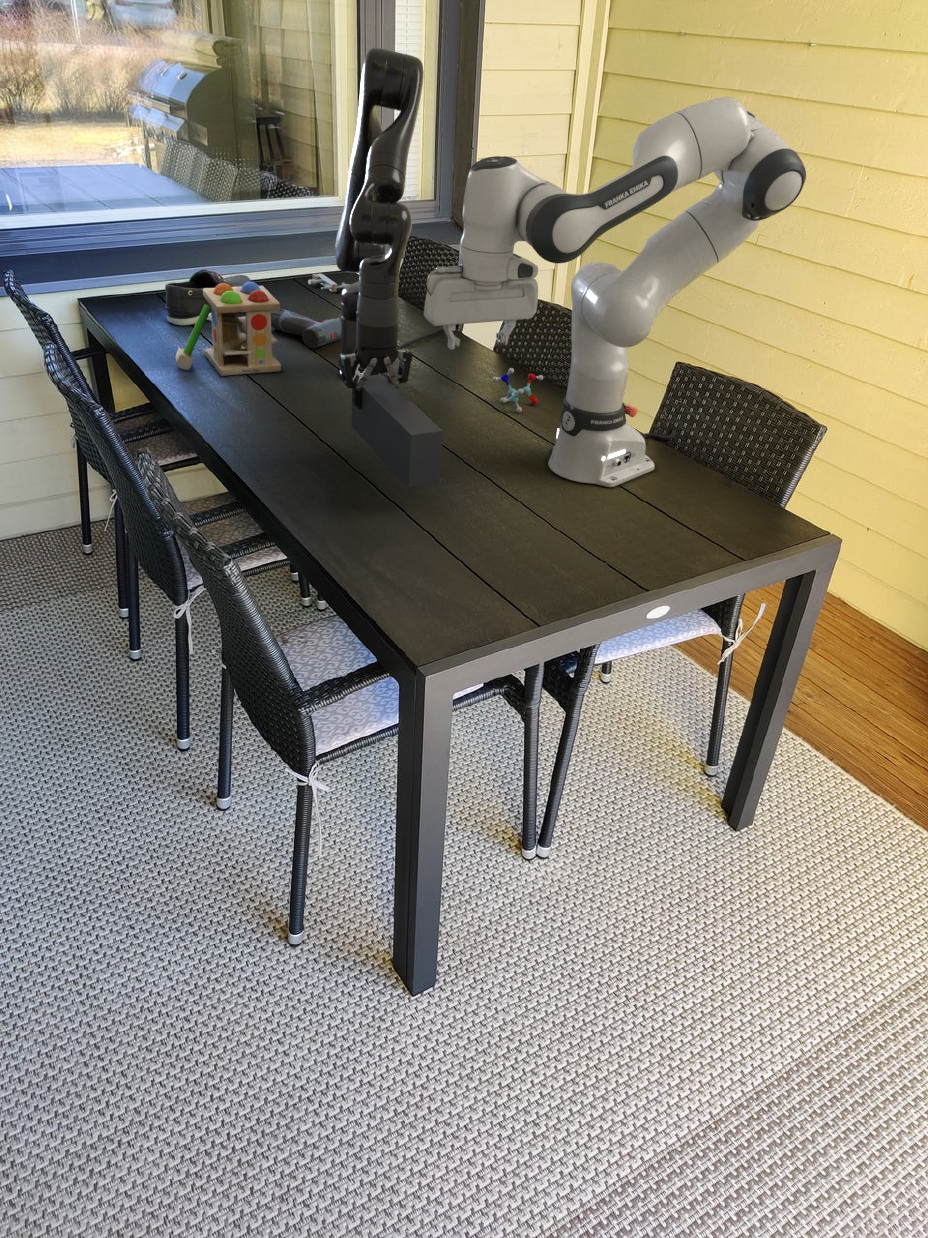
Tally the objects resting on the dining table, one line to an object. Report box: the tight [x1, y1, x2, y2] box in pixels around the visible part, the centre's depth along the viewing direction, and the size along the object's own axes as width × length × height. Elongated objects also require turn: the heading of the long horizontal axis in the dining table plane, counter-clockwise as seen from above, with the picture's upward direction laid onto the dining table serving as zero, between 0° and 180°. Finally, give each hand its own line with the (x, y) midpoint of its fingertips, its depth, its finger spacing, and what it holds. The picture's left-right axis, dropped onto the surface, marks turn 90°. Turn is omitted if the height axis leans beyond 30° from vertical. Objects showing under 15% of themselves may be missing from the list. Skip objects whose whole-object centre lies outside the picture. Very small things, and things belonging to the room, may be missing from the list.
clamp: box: [307, 273, 350, 293], centre depth 287 cm, size 15×2×10 cm
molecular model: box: [492, 367, 544, 413], centre depth 223 cm, size 12×10×10 cm
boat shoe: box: [164, 269, 253, 326], centre depth 260 cm, size 13×33×10 cm, turn 147°
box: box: [351, 373, 444, 489], centre depth 181 cm, size 27×6×10 cm, turn 27°
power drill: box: [271, 308, 341, 349], centre depth 252 cm, size 5×19×20 cm
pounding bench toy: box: [174, 281, 282, 377], centre depth 225 cm, size 23×14×18 cm, turn 116°
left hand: (374, 405), depth 188 cm, fingers closed on box, 6 cm apart
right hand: (477, 346), depth 170 cm, fingers open, 8 cm apart
